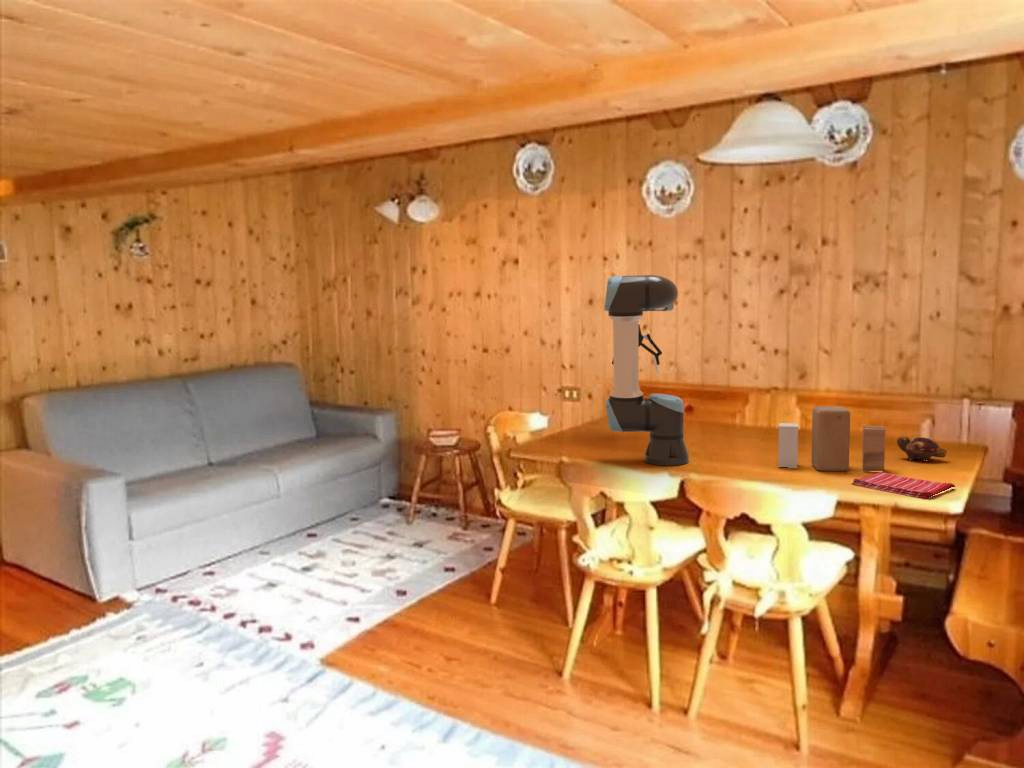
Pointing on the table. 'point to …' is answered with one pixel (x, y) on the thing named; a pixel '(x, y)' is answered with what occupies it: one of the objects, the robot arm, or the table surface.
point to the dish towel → (902, 485)
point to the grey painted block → (788, 445)
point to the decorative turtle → (920, 448)
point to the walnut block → (873, 448)
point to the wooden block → (830, 438)
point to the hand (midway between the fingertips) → (640, 376)
